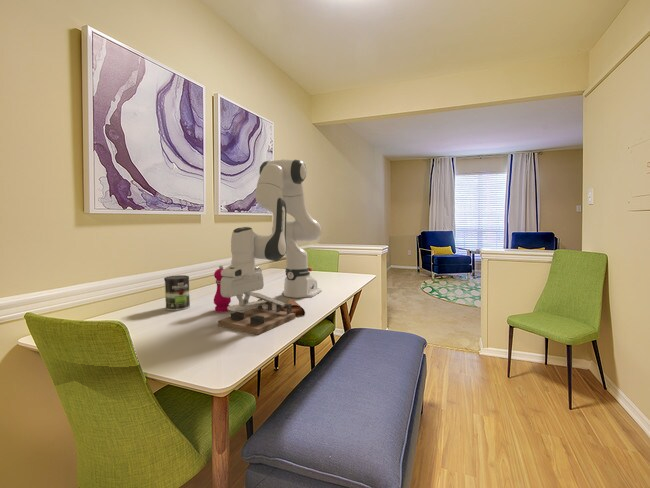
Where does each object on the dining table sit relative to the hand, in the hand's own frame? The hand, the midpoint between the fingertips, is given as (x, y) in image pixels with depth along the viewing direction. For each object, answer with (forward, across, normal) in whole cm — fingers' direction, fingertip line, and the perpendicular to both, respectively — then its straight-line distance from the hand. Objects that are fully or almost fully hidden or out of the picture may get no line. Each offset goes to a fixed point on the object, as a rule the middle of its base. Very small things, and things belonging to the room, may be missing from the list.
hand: (243, 304), depth 133 cm
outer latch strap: (-2, -4, +10) cm, 11 cm away
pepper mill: (+7, -8, -20) cm, 23 cm away
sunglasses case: (+7, -21, +7) cm, 23 cm away
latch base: (+7, -3, +5) cm, 9 cm away
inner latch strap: (+2, -3, 0) cm, 3 cm away
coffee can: (+7, -1, -41) cm, 42 cm away
